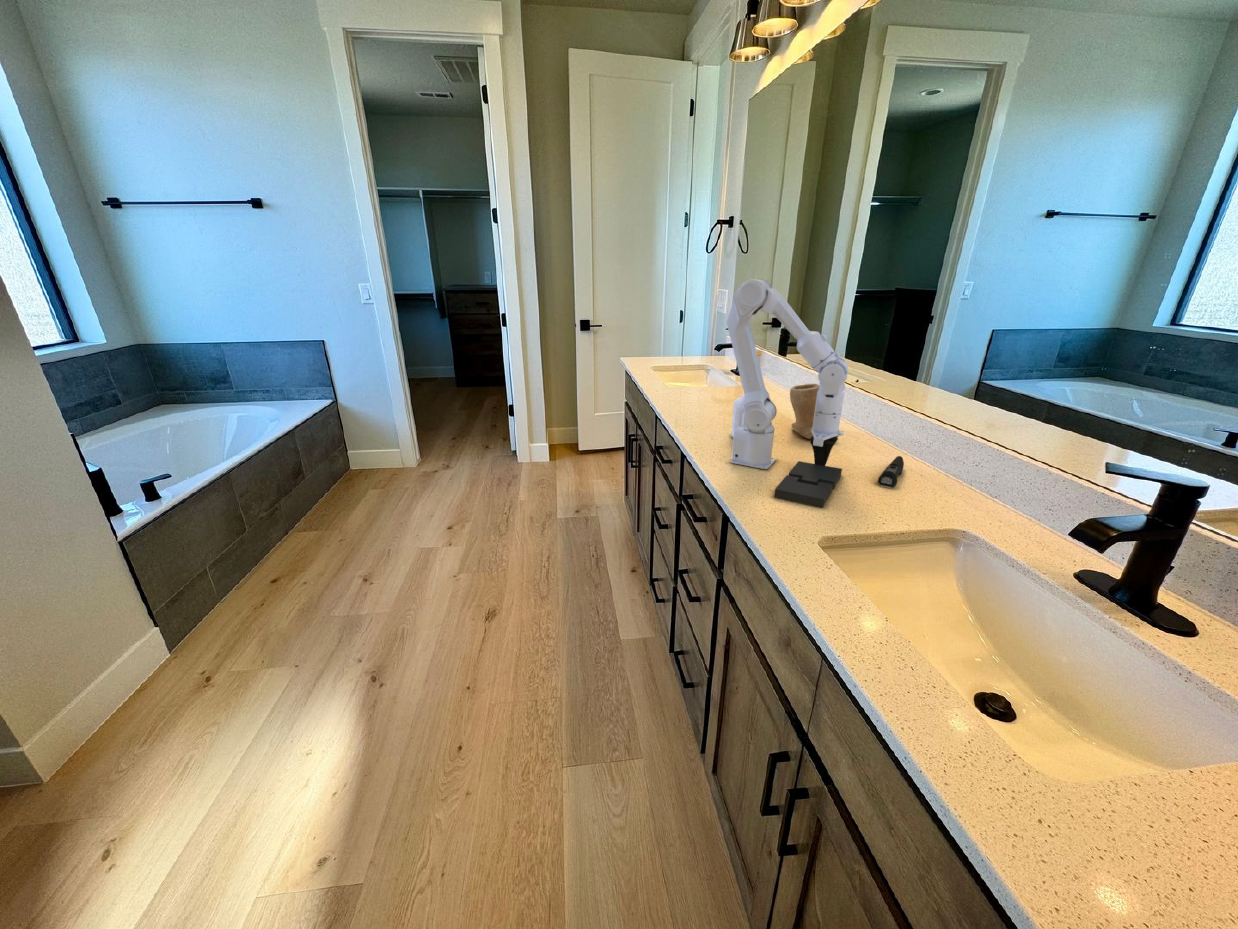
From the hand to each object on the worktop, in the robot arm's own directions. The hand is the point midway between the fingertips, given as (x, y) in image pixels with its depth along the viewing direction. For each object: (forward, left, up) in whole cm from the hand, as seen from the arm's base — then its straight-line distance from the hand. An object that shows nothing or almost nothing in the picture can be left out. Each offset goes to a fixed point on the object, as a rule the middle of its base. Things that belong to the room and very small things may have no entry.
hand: (820, 466), depth 119 cm
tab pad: (0, -6, -1) cm, 7 cm away
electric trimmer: (+15, +5, -2) cm, 16 cm away
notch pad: (0, -16, -1) cm, 16 cm away
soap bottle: (-24, +17, -2) cm, 29 cm away
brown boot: (-9, +28, -2) cm, 30 cm away
